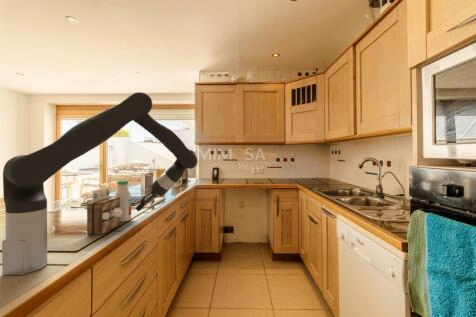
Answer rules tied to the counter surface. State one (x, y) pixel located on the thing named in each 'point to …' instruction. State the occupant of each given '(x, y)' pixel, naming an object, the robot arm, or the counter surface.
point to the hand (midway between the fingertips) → (137, 209)
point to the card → (100, 194)
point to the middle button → (115, 213)
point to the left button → (105, 216)
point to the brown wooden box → (95, 215)
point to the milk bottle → (124, 200)
